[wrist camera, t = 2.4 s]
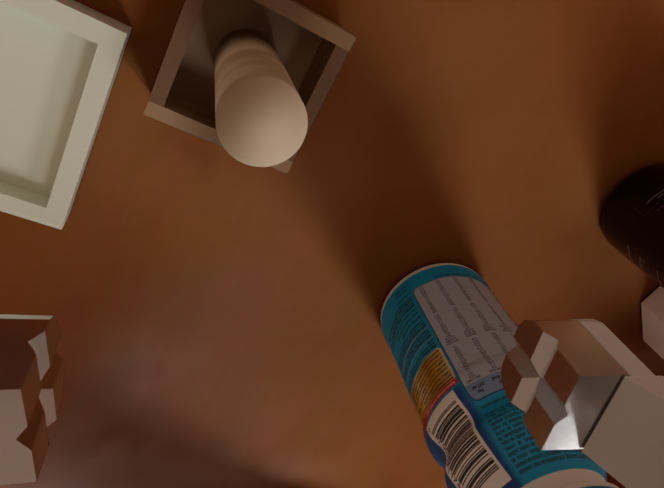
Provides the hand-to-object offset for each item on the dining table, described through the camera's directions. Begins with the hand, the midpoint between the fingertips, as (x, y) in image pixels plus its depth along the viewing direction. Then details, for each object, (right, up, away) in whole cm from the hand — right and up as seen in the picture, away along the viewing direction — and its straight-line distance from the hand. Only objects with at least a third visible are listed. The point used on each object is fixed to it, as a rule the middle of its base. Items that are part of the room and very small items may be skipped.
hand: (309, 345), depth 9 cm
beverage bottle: (+8, -3, +29) cm, 30 cm away
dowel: (-4, +11, +17) cm, 21 cm away
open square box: (-4, +11, +18) cm, 22 cm away
